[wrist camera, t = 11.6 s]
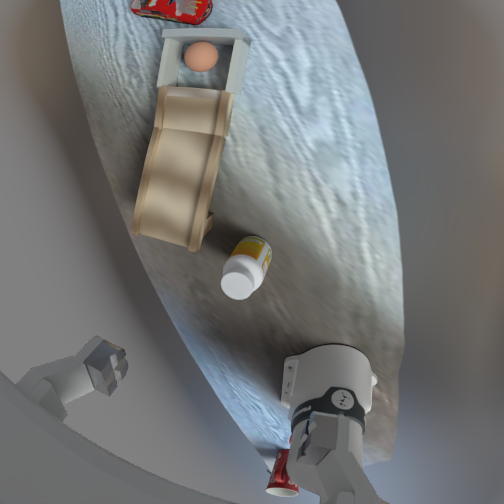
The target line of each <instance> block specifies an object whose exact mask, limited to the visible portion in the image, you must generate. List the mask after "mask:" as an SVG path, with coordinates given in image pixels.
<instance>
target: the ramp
mask: <svg viewBox="0 0 504 504" xmlns="http://www.w3.org/2000/svg"><path fill="white" fill-rule="evenodd" d="M234 96H235V94H231V93H228V92H225V90H213V89H202V88H189V87H171V86H160V87H159V91H158V98H157V105H156V113H155V122H154V128H153V132H152V136H151V139H150V143H149V147H148V151H147V155H146V159H145V163H144V168H143V172H142V176H141V181H140V186H139V190H138V195H137V200H136V205H135V211H134V216H133V222H132V228H131V234H133V235H139V234H143V235H146V236H150V237H153V238H157V239H160V240H164V241H167V242H171V243H174V244H178V245H181V246H185V247H188V248H189V249H188V251H191V252H196V251H198V250H200V247H201V242H202V238H203V237H204V236H205V235H206V234H207V233H208V232H209V231H210V230H211V229H212V223H213V215H214V213H210V212H208V210H209V206H210V202H211V197H212V193H213V189H214V184H215V180H216V176H217V172H218V168H219V164H220V160H221V156H222V152H223V148H224V144H225V140H226V139H225V138H224V137H223V136H228V131H229V125H230V119H231V113H232V108H233V102H234Z"/></svg>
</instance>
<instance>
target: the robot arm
mask: <svg viewBox="0 0 504 504" xmlns="http://www.w3.org/2000/svg"><path fill="white" fill-rule="evenodd" d="M125 355H126V353H125V350H124V349H122V348H120V347H118V346H116V345H114V344H112V343H110V342H108V341H106V340H104V339H102V338H100V337H98V336H95V337H93V338H92V339H91V340H90V341H89V342H88V343H87V344H86V345H85V346H84V347H83V349H81V350H80V351H79V352H78V353H77V355H76V356H75V357H73V356H70V357H67V358H64V359H60V360H57V361H54V362H50V363H47V364H43V365H40V366H36V367H33V368H31V369H30V370H29V371H28V372H27V373H26V374H25V375H24V376H23V377H22V378H21V379H20V381H18V383H16V385H15V384H14V383H13V382H12V381H11V380H10V379H9V378H8V377H7V376H5V375H4V374H3V373H2V372H1V371H0V504H238V503H235V502H231V501H227V500H223V499H220V498H217V497H214V496H210V495H208V494H204V493H201V492H199V491H196V490H193V489H190V488H187V487H185V486H182V485H179V484H177V483H174V482H172V481H169V480H167V479H164V478H162V477H160V476H157V475H155V474H153V473H151V472H148V471H146V470H144V469H142V468H140V467H138V466H135V465H134V464H132V463H130V462H128V461H126V460H124V459H122V458H120V457H118V456H116V455H115V454H113V453H111V452H109V451H107V450H106V449H104V448H102V447H100V446H99V445H97V444H95V443H94V442H92V441H90V440H89V439H87V438H86V437H84V436H82V435H81V434H79V433H78V432H76V431H75V430H73V429H72V428H70V427H69V426H67V425H66V424H64V423H63V420H64V419H65V418H66V417H67V415H68V414H67V411H66V409H65V408H64V406H63V404H65V403H67V402H69V401H71V400H74V399H76V398H78V397H80V396H82V395H84V394H87V393H89V392H91V391H93V390H94V389H96V390H98V391H100V392H102V393H104V394H106V395H108V396H110V395H111V394H112V393H113V391H114V390H115V389H116V387H117V381H120V380H122V379H123V378H124V376H125V375H126V372H127V370H128V363H127V360H126V359H125V358H124V357H125ZM376 383H377V376H376V374H375V373H374V372H372V370H371V368H370V363H369V361H368V359H367V357H366V356H365V355H364V354H363V353H361V352H360V351H358V350H356V349H354V348H352V347H348V346H344V345H324V346H320V347H316V348H313V349H311V350H309V351H307V352H305V353H303V354H301V355H295V356H290V357H287V358H286V359H285V361H284V372H283V384H282V394H281V404H282V405H283V406H285V407H287V408H288V409H289V414H288V419H289V421H291V432H292V435H291V437H290V440H289V443H290V444H291V445H290V450H289V455H288V460H287V464H286V469H287V473H288V476H289V478H290V479H291V480H292V482H294V483H295V484H296V485H298V486H299V487H301V488H303V489H305V490H307V491H310V492H312V493H315V494H317V495H319V496H320V504H389V503H388V502H386V501H384V500H383V499H381V498H380V497H379V496H378V495H377V494H376V491H375V489H374V488H373V486H372V485H371V483H370V481H369V480H368V478H367V476H366V475H365V473H364V469H363V457H362V435H363V434H364V432H365V426H366V418H365V414H366V413H367V412H368V411H370V409H371V400H372V387H373V386H374V385H375V384H376Z"/></svg>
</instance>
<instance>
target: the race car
mask: <svg viewBox="0 0 504 504" xmlns="http://www.w3.org/2000/svg"><path fill="white" fill-rule="evenodd" d="M212 6H213V4H212V0H133V1H132V4H131V11H132V12H134V13H135V14H137V15H139V16H142V17H146V18H148V17H149V18H153V19H160V20H166V21H172V22H178V23H183V24H184V23H185V24H191V25H198V24H200V23H202V22H203V21H204V20H206V19H207V18H208V16H209V15H210V13H211V11H212Z"/></svg>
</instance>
